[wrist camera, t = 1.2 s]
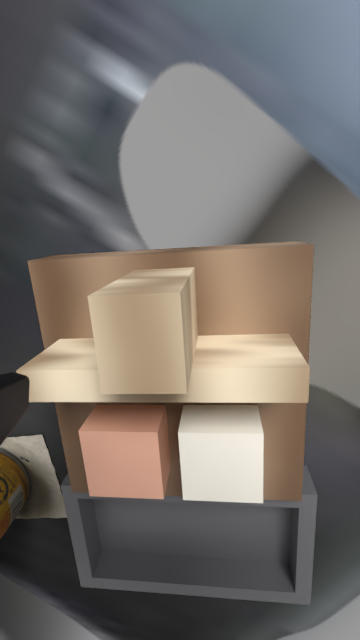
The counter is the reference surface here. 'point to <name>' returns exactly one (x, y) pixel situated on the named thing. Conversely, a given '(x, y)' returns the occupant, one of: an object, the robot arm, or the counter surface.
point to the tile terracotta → (126, 451)
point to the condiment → (27, 482)
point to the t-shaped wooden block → (164, 352)
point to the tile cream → (221, 453)
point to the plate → (212, 319)
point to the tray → (195, 545)
